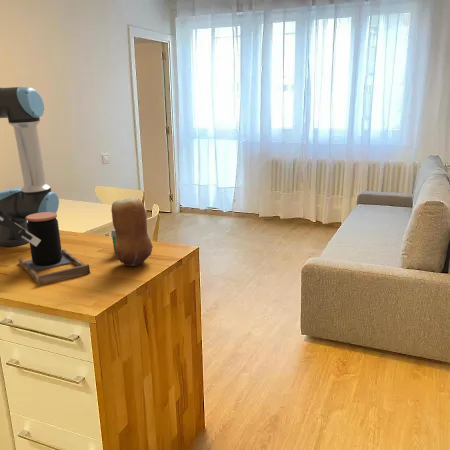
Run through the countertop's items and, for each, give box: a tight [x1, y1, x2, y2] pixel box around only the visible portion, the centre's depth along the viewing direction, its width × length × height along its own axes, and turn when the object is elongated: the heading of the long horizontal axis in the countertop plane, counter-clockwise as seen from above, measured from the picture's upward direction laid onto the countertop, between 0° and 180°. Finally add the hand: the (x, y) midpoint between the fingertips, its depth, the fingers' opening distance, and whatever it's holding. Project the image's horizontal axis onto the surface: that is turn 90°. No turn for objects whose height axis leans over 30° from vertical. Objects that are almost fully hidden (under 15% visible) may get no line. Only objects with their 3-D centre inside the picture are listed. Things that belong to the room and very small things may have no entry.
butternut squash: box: [110, 197, 154, 267], centre depth 160 cm, size 14×13×25 cm
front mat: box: [24, 254, 74, 272], centre depth 168 cm, size 13×15×1 cm
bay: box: [18, 249, 91, 286], centre depth 162 cm, size 28×17×3 cm, turn 37°
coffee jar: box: [26, 212, 63, 266], centre depth 166 cm, size 11×11×18 cm
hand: (32, 239), depth 163 cm, fingers open, 13 cm apart
